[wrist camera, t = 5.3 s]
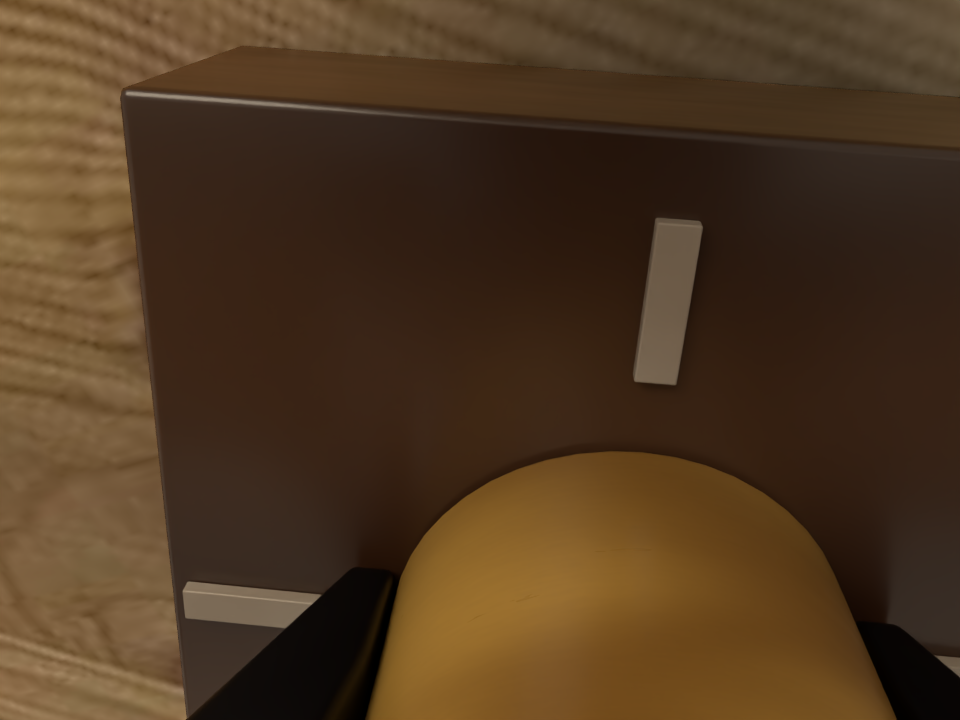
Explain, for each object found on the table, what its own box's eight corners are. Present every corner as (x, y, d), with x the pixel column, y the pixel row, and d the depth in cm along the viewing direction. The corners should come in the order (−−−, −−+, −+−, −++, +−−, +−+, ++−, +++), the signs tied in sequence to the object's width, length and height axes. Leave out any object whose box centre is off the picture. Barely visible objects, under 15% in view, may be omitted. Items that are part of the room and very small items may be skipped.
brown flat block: (861, 784, 14) (941, 1007, 11) (272, 721, 14) (200, 922, 11) (1091, 105, 9) (1321, 180, 7) (236, 44, 10) (104, 90, 7)
